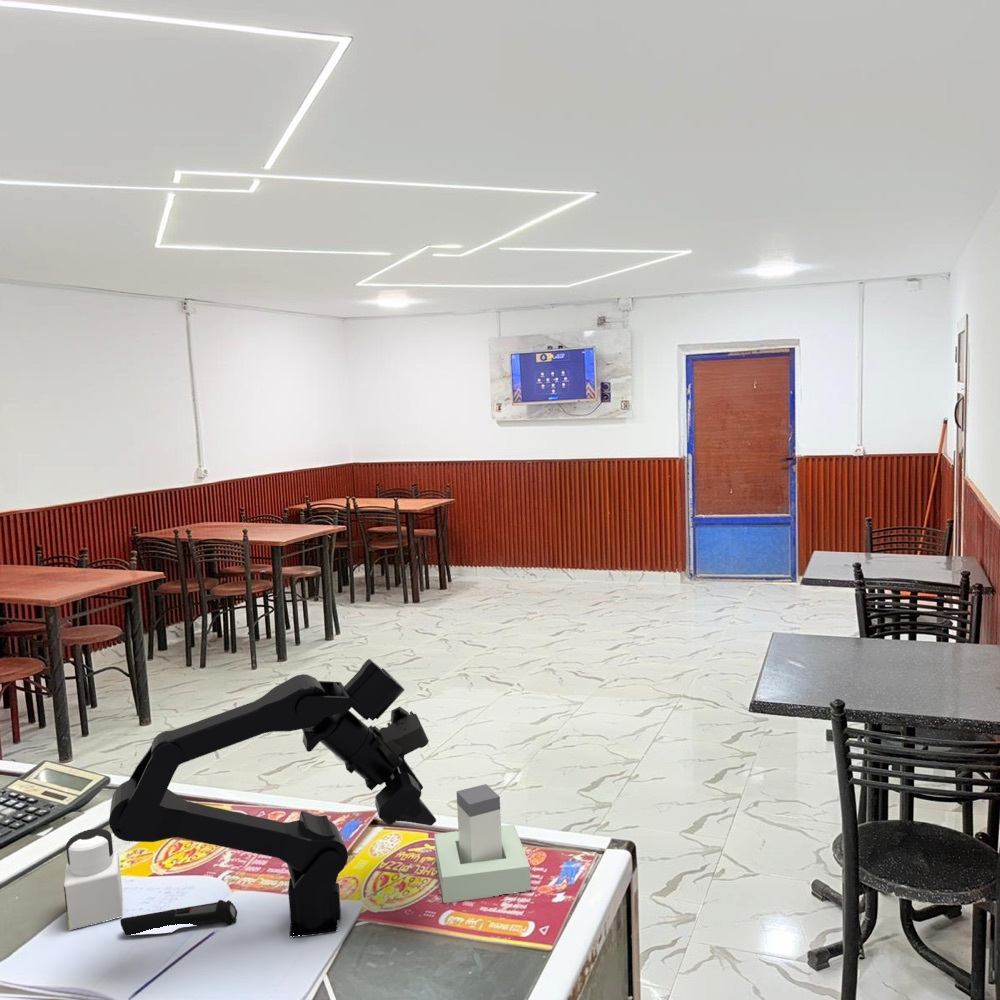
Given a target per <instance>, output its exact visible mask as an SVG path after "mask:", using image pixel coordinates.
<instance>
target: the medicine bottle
mask: <svg viewBox="0 0 1000 1000" xmlns="http://www.w3.org/2000/svg"><path fill="white" fill-rule="evenodd" d="M65 848H66V857H67V858H66V859H67V862H66V864H65V871H64V872H65V873H64V882H63V891H64V900H65V909H66V918H67V927H68V930H69V931H74V930H73V929H75V930H78V929H77V928H79V929H82V928H81V927H83V928H86V927H85V926H87V927H89V926H88V925H91V924H95V923H99V922H103V921H106V920H110V919H113V918H117V917H120V916H122V917H123V915H124V914H123V910H124V909H123V904H124V903H123V885H122V875H121V865H120V856H119V852H118V851H117V850H115V851H114V847H113V837H112V832H110V831H109V830H107V829H104V828H91V829H86V830H83V831H81V832H78V833H76V834H74V835H73V836H72V837H71V838H69V839H68V841H67V842H66V844H65ZM103 923H104V922H103ZM99 924H100V923H99ZM95 925H96V924H95ZM91 926H92V925H91Z"/></svg>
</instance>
